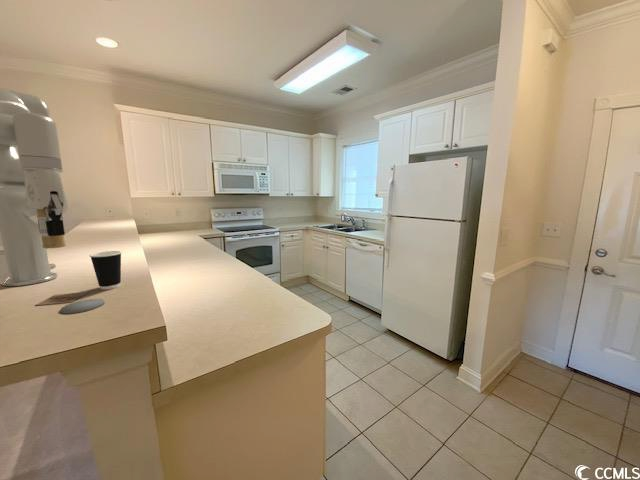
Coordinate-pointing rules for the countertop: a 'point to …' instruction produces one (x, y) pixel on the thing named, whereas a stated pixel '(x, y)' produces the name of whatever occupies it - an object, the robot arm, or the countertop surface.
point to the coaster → (82, 306)
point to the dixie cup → (107, 268)
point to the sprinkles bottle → (47, 240)
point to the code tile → (62, 298)
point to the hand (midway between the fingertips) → (52, 234)
